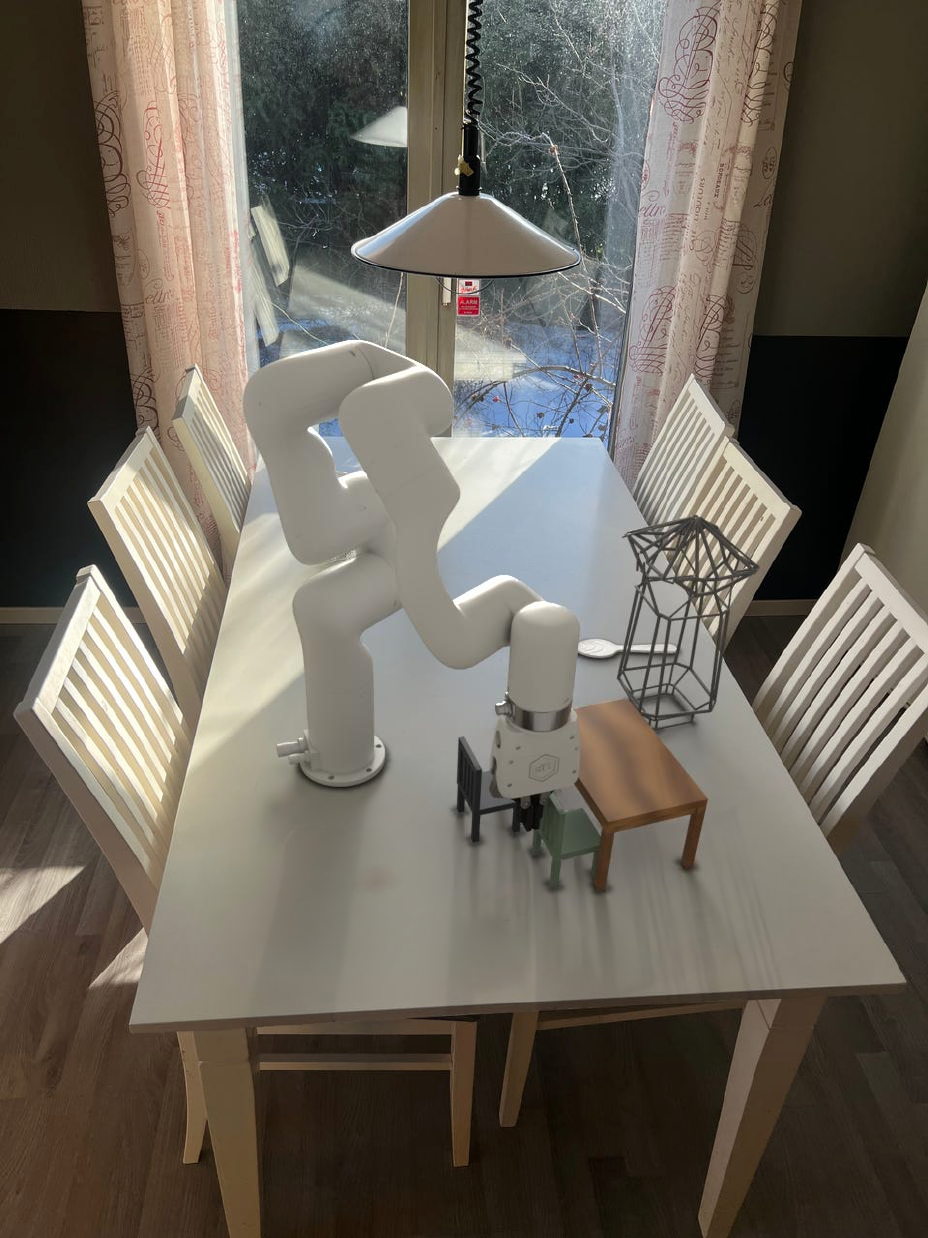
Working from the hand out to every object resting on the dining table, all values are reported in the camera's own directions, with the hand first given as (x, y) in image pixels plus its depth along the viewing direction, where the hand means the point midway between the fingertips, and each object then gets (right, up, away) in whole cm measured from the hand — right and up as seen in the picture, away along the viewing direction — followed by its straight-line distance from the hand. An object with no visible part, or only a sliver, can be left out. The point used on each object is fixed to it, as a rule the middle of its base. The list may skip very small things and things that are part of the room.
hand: (528, 823), depth 123 cm
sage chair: (+5, -7, +7) cm, 11 cm away
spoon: (+20, +20, +50) cm, 58 cm away
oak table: (+12, -3, +14) cm, 19 cm away
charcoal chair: (-5, -2, +13) cm, 14 cm away
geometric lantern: (+23, +10, +35) cm, 43 cm away
